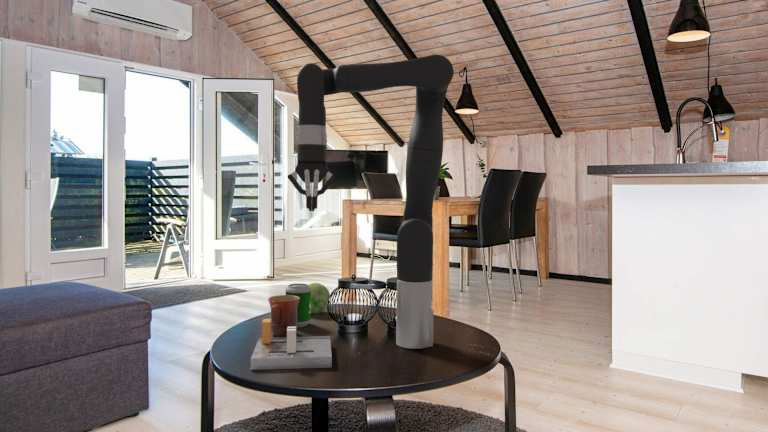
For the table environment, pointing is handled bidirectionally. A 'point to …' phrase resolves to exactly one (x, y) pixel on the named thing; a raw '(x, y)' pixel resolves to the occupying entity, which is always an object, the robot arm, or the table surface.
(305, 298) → the soda can
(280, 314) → the mug
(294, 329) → the fader cream
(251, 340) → the table surface
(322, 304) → the decorative ball
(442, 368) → the table surface
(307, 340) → the console
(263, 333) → the fader orange
